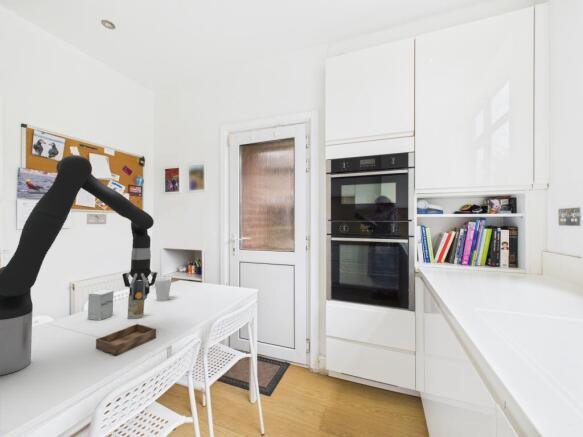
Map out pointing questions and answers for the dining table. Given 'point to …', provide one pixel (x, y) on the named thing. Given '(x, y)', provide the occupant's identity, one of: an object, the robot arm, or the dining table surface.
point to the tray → (125, 339)
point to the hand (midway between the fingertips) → (139, 295)
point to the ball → (139, 295)
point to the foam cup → (163, 288)
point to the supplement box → (100, 304)
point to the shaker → (138, 290)
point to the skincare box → (135, 308)
